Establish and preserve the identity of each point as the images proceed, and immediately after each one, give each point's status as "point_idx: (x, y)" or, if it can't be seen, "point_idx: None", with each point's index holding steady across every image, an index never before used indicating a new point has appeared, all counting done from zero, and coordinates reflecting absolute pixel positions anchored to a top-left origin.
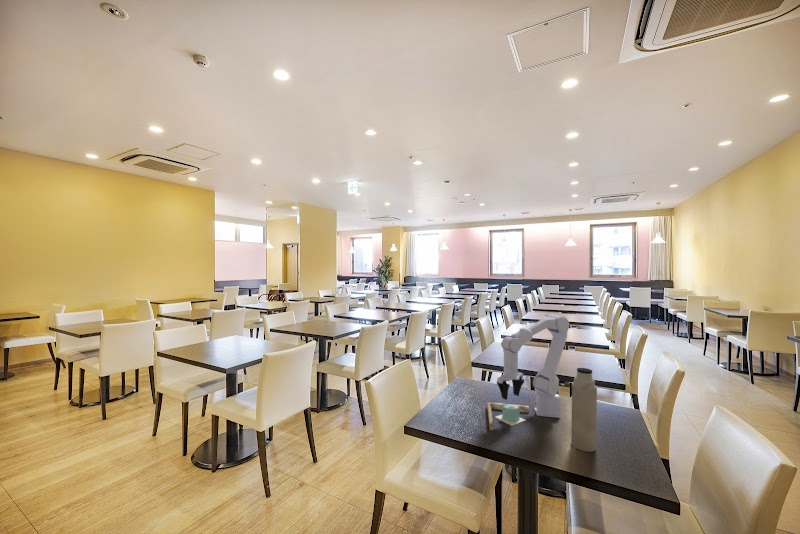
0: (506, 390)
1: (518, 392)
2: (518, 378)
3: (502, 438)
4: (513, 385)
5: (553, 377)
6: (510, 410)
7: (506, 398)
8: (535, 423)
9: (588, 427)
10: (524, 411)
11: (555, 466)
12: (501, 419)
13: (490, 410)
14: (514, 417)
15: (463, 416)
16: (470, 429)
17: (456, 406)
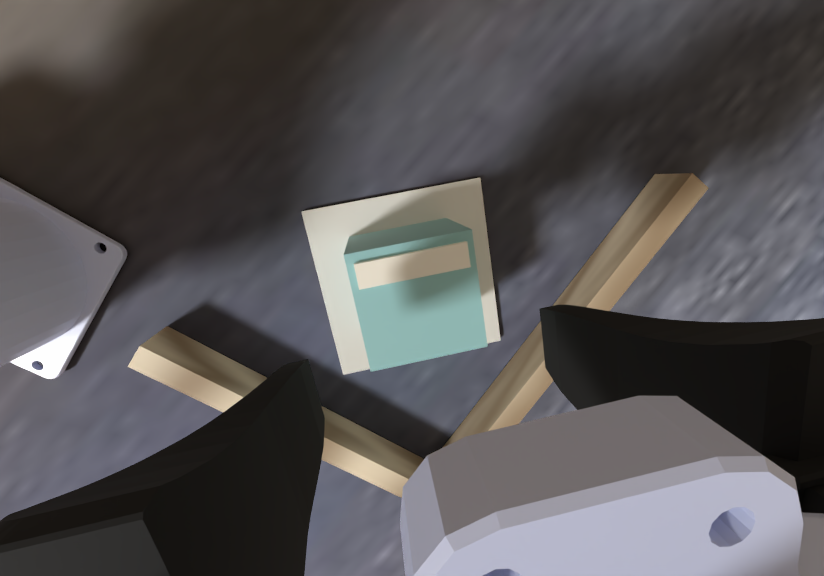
0: (698, 323)
1: (293, 375)
2: (597, 469)
3: (686, 36)
4: (302, 539)
5: None
6: (473, 245)
7: (559, 307)
8: (250, 139)
9: None
10: (200, 346)
11: None
12: (484, 287)
13: (529, 386)
14: (416, 228)
15: None
16: (769, 242)
17: None
